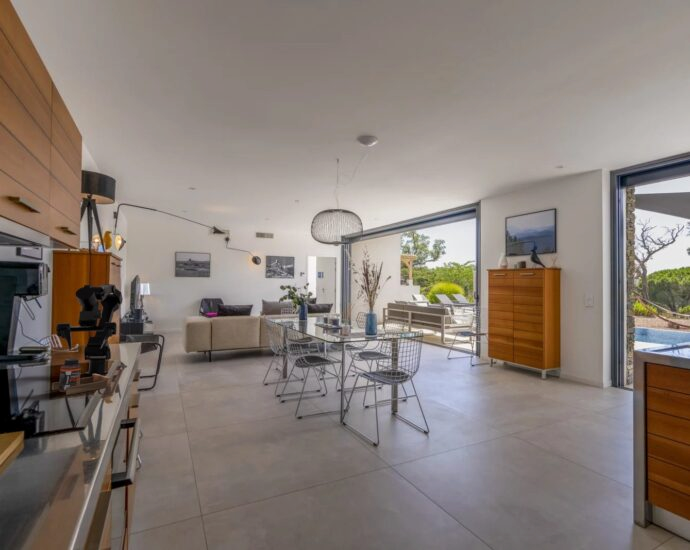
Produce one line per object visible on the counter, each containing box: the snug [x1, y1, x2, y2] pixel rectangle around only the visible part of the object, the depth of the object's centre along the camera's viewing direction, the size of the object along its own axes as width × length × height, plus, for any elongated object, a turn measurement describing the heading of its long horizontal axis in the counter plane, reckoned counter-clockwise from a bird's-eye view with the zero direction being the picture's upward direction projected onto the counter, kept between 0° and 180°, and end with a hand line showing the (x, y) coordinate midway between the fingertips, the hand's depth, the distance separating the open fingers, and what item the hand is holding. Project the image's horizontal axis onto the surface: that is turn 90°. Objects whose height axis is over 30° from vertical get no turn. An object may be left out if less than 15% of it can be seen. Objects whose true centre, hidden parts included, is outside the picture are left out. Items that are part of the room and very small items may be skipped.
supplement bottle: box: [58, 358, 82, 394], centre depth 132 cm, size 6×6×11 cm
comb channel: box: [51, 374, 111, 396], centre depth 135 cm, size 11×14×4 cm
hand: (85, 349), depth 135 cm, fingers open, 9 cm apart
